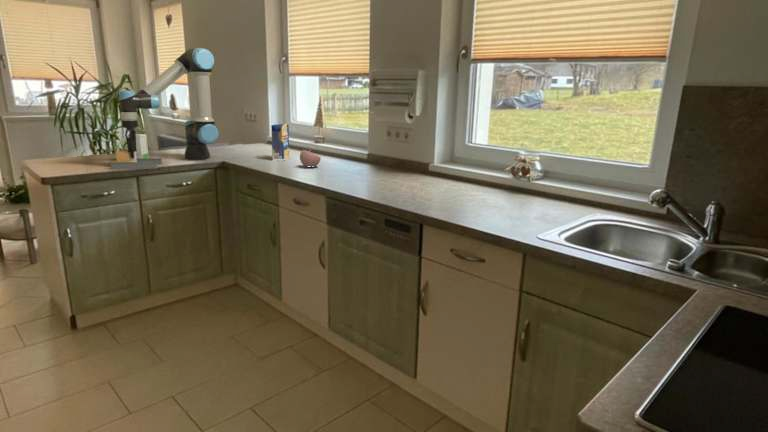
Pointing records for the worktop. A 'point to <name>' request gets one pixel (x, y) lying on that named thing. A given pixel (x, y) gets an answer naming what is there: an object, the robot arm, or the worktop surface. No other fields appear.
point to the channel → (138, 164)
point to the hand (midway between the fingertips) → (133, 163)
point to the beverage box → (280, 141)
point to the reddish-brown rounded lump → (309, 158)
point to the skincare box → (141, 146)
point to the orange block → (123, 156)
